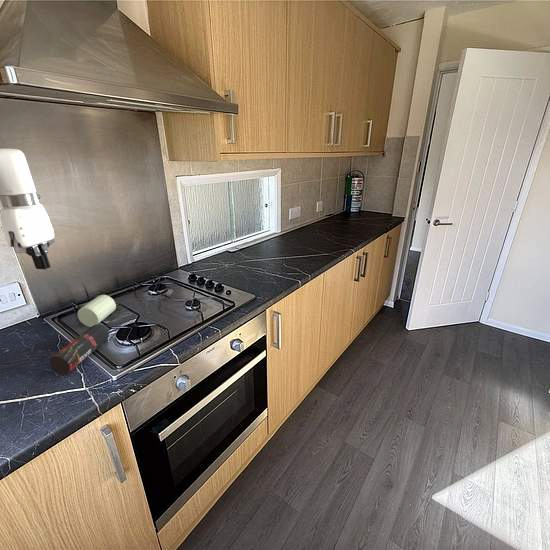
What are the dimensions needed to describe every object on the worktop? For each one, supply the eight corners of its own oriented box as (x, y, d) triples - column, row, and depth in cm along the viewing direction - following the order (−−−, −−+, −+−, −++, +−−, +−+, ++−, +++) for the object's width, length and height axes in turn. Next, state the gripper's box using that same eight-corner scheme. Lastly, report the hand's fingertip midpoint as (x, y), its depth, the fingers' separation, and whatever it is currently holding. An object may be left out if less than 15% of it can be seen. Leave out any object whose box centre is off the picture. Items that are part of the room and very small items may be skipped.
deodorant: (73, 365, 77) (111, 332, 90) (53, 352, 76) (94, 321, 90) (66, 377, 79) (105, 343, 93) (47, 365, 78) (88, 332, 92)
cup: (74, 307, 97) (94, 294, 106) (81, 326, 100) (99, 312, 109) (94, 308, 96) (113, 295, 105) (100, 327, 99) (118, 312, 108)
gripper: (34, 197, 82) (54, 259, 89) (-24, 205, 68) (5, 278, 75) (57, 197, 81) (76, 259, 88) (3, 206, 67) (30, 279, 74)
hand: (43, 268), depth 82 cm, fingers closed
